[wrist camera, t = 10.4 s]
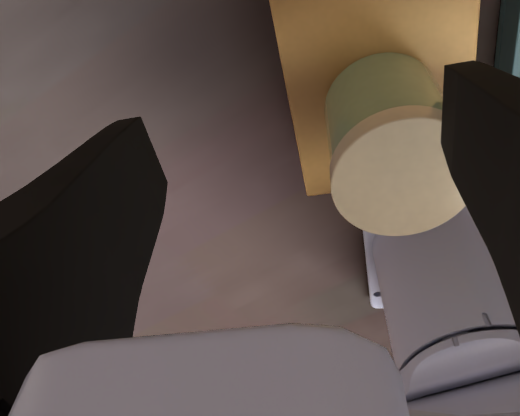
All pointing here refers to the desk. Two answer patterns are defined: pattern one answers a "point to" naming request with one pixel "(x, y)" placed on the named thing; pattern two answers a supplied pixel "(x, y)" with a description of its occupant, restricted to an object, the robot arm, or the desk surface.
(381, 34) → the flat wooden board
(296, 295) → the desk surface
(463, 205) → the green jar
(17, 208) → the robot arm
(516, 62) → the tray
